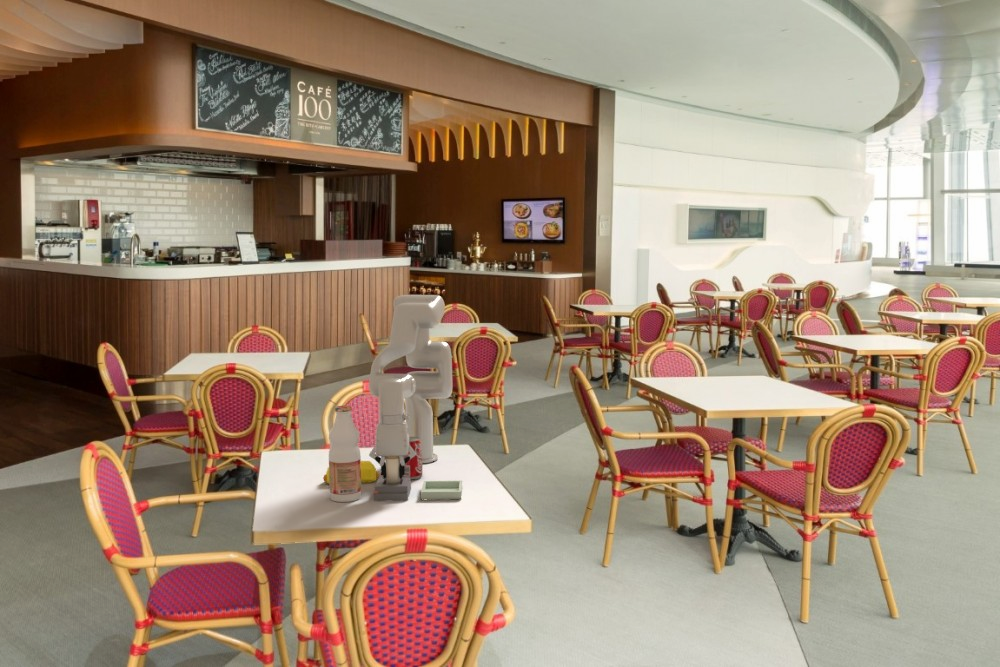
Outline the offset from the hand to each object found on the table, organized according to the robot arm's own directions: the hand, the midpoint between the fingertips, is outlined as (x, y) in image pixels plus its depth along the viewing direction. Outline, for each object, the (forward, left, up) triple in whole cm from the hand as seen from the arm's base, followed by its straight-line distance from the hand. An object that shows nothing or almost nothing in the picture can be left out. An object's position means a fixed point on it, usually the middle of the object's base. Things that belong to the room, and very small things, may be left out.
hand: (393, 476), depth 259 cm
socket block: (0, 0, -5) cm, 5 cm away
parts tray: (0, +15, -5) cm, 16 cm away
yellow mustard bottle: (-15, -15, -6) cm, 22 cm away
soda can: (-19, +4, -6) cm, 20 cm away
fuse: (0, 0, -3) cm, 3 cm away
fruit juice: (+3, -14, -6) cm, 16 cm away
